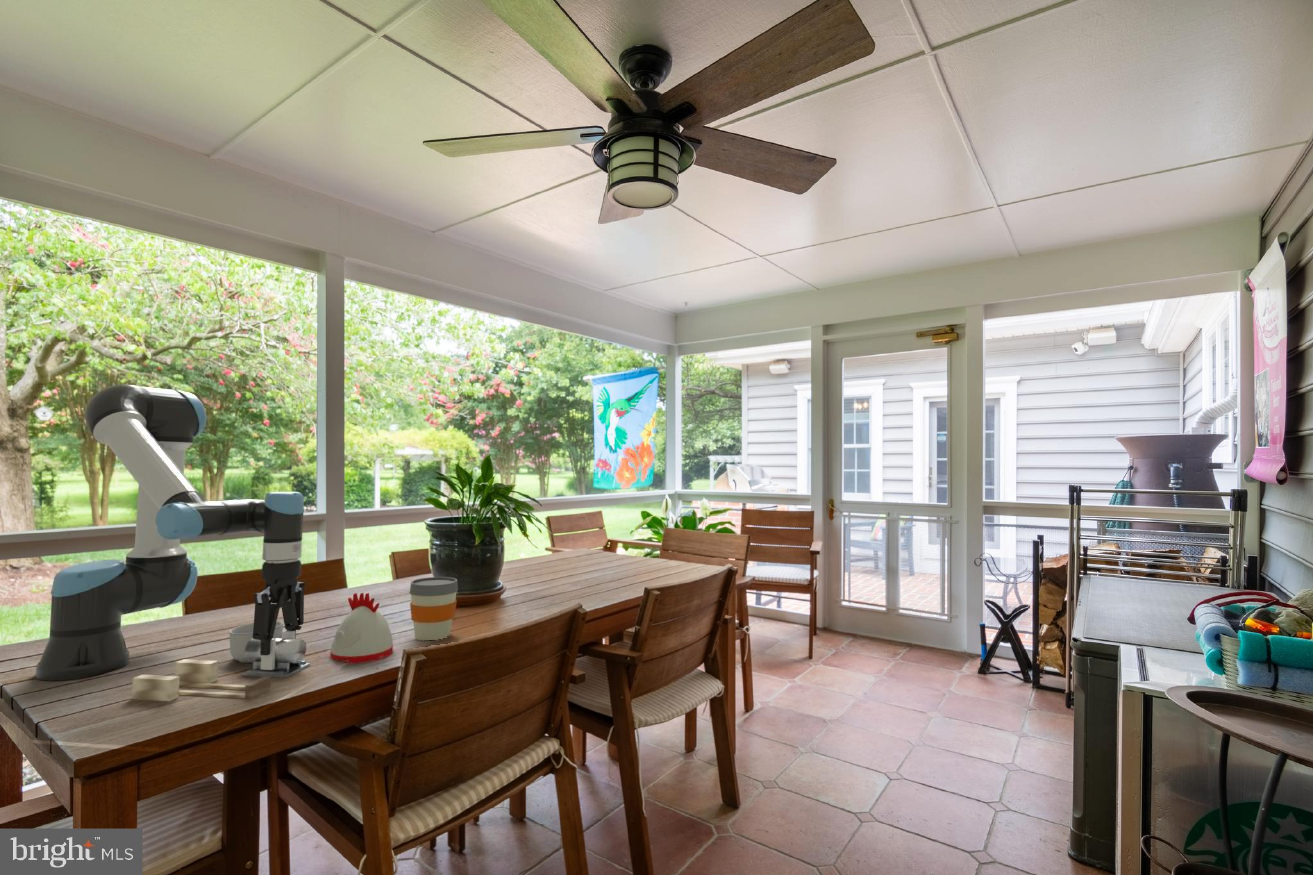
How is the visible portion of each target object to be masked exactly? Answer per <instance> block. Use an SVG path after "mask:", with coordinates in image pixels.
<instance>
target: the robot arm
mask: <svg viewBox="0 0 1313 875" xmlns="http://www.w3.org/2000/svg"><path fill="white" fill-rule="evenodd" d="M84 420H85V425H86V426H87V429H88V431H89V433H90V434H91V435H92V436H93V438H94V439H95V440H96V441H97V442H98V443H99V444H102V445H106V446H108V447H109V449H110V450H111V451H112V452H113V454H114V455H115V456H116V457H117V459H118V460H119V462H121V463H122V465H123V466H124V468H125V469H126V470H127V471H128V472H129V474H130V476H132V478H133V479H134V480H135V481H136V483H137V484H138V486H137V487H138V488H137V489H138V490H137V491H138V492H137V502H136V503H137V506H136V507H137V508H136V522H135V523H136V524H135V536H134V537H135V538H134V539H135V540H134V547H133V549H131V550H130V551H128V552H127V553H126V554H125V562H124V561H123V560H122V559H103V560H102V559H101V560H98V561H96V560H95V561H94V560H93V561H88V562H83V563H79V564H74V565H71V566H68V567H65V568H63V569H61V570H60V571H58V572H57V573H56V574H55V575H54V577H53V582H52V586H51V590H50V595H51V600H50V601H51V603H50V604H51V605H50V623H49V638H48V642H47V643H46V646H45V648H44V650H43V653H42V655H41V658H40V660H39V661H38V663H37V665H36V666H35V667H36V668H35V679H37V680H40V681H41V680H42V681H51V682H52V681H53V682H54V681H66V680H67V681H69V680H76V679H83V678H89V677H94V676H98V675H103V674H106V673H110V672H113V671H116V670H118V669H121V668H123V667H125V666H126V665H128V664H129V662H130V651H129V649H128V648H127V645H126V641H125V638H124V636H123V633H122V628H121V626H122V616H124V615H129V614H133V613H137V612H143V611H148V610H152V609H157V608H161V609H162V608H166V607H169V606H171V605H175V604H178V603H179V604H180V603H182V602H183V601H185V600H186V599H187V598H188V597H189V596H190V595H191V594H192V592H193V591H194V589H195V587H196V585H197V581H198V567H197V566H196V562H195V561H194V559H192V558H191V557H189V556H187V555H188V550H186V549H185V548H184V547H182V545H181V540H191V539H196V538H204V537H212V536H222V535H223V536H224V535H225V536H226V535H235V534H241V533H242V534H244V533H262V534H263V539H262V540H263V541H262V560H263V561H264V562H263V563H262V564H261V565H262V566H261V578H262V579H263V580H265V585H264V588H263V591H261V592H255V593H254V594H253V599H254V614H253V623H254V626H253V639H256V640H260V641H261V646H260V648H261V649H260V650H261V651H260V654H261V669H262V670H273V669H275V646H276V639H273V635H274V631H275V626H276V622H277V620H278V618H279V612H280V609H281V612H282V617H283V626H284V628H285V630H283V631H282V639H296V638H297V637H296V636H297V631H301V629H302V626H303V624H304V620H305V619H304V618H305V617H304V616H305V613H304V612H305V609H304V608H305V595H304V594H305V590H306V582H301V581H298V579H297V578H299V577H300V576H301V575H302V561H301V560H300V558H301V557H302V552H303V551H302V548H303V547H302V546H303V529H304V512H305V508H304V507H305V506H304V505H305V504H304V495H303V493H301V492H300V491H270V492H267V493H266V494H265V496H264V499H251V498H247V497H246V498H235V499H231V500H230V499H229V500H215V501H214V500H213V501H212V500H209V501H208V500H206V499H205V498H204V497H203V495H202V494H201V493H200V492H199V491H198V490H197V488H196V487H195V486H194V485H193V484H192V482H191V481H190V480H189V479H188V477H187V476H186V475H185V474H184V473H185V460H186V459H185V457H186V456H185V455H186V450H187V449H189V448H190V447H191V446H193V445H194V438H195V437H197V436H200V435H201V434H202V433H203V432H204V429H205V428H206V425H207V424H206V423H207V411H206V408H205V405H204V404H203V402H202V401H201V400H200V399H199V398H198V397H197V396H196V395H195V394H193V393H191V392H188V391H187V392H186V391H183V390H178V389H173V388H171V389H168V388H160V387H151V386H150V387H149V386H141V385H140V386H139V385H133V384H115V385H112V386H107V387H106V388H104V389H101V390H100V391H98V392H97V393H96V394H94V395H93V396H92V397H91V398H90V400H89V401H88V403H87V405H86V407H85V412H84ZM267 633H268V634H267Z"/></svg>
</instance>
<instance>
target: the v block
mask: <svg viewBox="0 0 1313 875" xmlns="http://www.w3.org/2000/svg"><path fill="white" fill-rule="evenodd" d="M310 666H311V663H310V662H307V660H301V661H300V662H299V663H289V662H277V661H275V669H273V670H262V669H261V661H257V660H255V661H253V662H252V668H251V669H248V670H246V671H244V672H242V676H244V677H260V678H262V677H264V676H265V677H271V678H282V679H286V678H288V677H291V676H292V675H294V674H296V673H298V672H300V671H302V670H304V669H306V668H309V667H310Z"/></svg>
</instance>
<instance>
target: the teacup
mask: <svg viewBox="0 0 1313 875" xmlns="http://www.w3.org/2000/svg"><path fill="white" fill-rule="evenodd" d="M253 626H254V622H252V623H245V624H243V625H239V626H236V627H233V628H231V629H230V630H229V631H228V634H229V649H230V650H229V651H230V652H229V653H230V656H231V657H232V658H233V659H234V660H236V661H239V662H240V663H253V661H248V660H246V658H245V655H244V651H245V647H246V645H247V643H248V642H249V641H250V640H251V639H252V638H253ZM283 626H284V621H283V622H282V621H281V620H280V619H277V622H276V626H275V631H274V635H273V638H279V639H282V631H284V630H283V629H284V627H283ZM267 634H268V633H267Z"/></svg>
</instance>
